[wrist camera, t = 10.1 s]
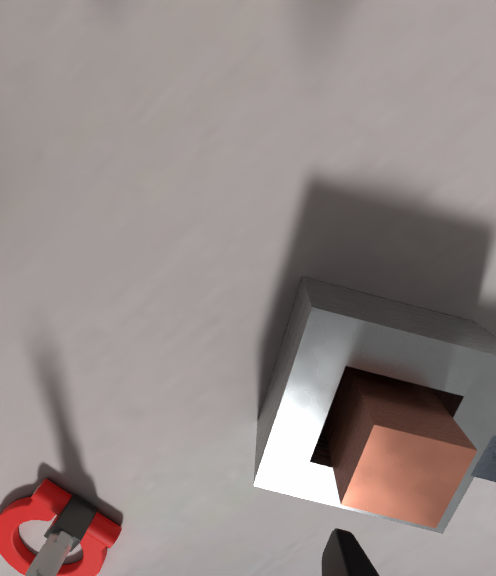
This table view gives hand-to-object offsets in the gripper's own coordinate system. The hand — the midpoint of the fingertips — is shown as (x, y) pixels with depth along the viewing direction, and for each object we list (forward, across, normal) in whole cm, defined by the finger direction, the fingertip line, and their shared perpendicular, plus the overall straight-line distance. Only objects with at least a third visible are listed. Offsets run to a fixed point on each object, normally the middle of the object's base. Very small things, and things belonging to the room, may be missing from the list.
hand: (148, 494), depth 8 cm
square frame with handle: (+13, -14, +2) cm, 19 cm away
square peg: (+13, -9, +2) cm, 16 cm away
